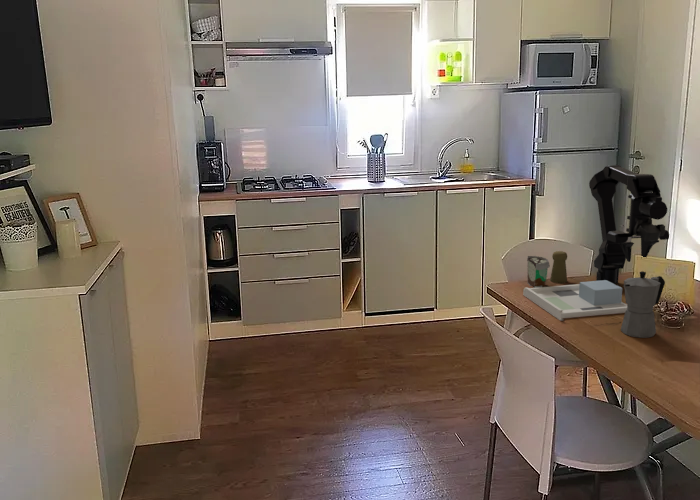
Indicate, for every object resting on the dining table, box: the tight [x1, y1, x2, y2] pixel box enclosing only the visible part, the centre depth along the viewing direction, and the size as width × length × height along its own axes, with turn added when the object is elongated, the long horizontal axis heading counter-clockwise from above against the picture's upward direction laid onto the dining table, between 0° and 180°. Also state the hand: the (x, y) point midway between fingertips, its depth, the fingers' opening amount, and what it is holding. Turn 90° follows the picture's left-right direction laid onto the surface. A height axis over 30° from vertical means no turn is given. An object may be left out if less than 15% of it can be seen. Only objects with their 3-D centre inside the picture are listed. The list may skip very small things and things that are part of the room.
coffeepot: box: [620, 270, 666, 339], centre depth 180 cm, size 15×9×18 cm, turn 115°
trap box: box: [522, 283, 627, 322], centre depth 207 cm, size 26×26×3 cm
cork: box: [549, 250, 568, 284], centre depth 232 cm, size 6×6×11 cm
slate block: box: [578, 280, 623, 305], centre depth 208 cm, size 10×10×5 cm
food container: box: [526, 255, 550, 288], centre depth 226 cm, size 12×6×10 cm, turn 179°
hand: (636, 261), depth 208 cm, fingers open, 5 cm apart
